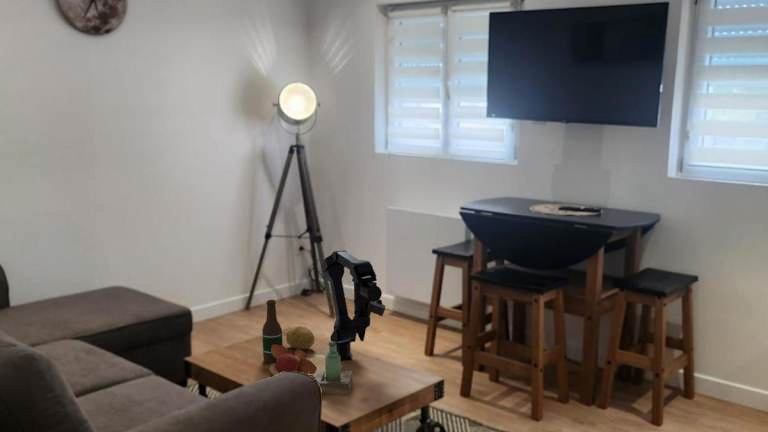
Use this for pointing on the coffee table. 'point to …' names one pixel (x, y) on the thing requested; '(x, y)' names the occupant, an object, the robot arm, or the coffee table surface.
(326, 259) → the robot arm
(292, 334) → the potato
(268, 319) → the beer bottle
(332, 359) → the bottle
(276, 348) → the brown red lumpy cluster
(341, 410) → the coffee table surface
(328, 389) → the square wooden tray
